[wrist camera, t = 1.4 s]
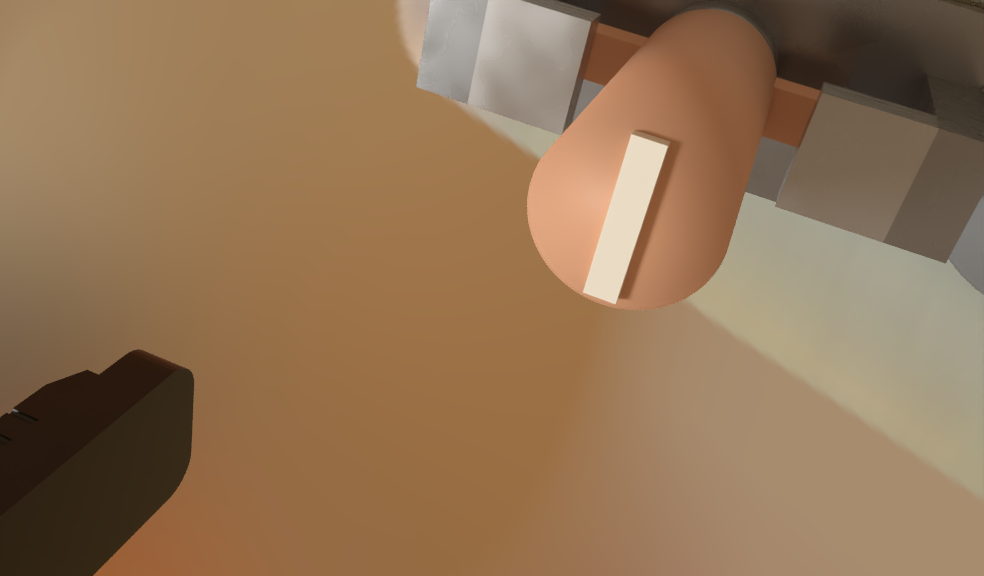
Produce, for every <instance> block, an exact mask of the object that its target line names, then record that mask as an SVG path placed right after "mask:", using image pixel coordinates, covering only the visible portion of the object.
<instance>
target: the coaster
mask: <svg viewBox="0 0 984 576" xmlns="http://www.w3.org/2000/svg"><path fill="white" fill-rule="evenodd" d="M982 92H984V88H983V89H982ZM949 260H950V261H951V263H952V264H953V265H954V267H955V268H956V269H957V270H958V272H959V273H960V274H961V275H962V276H963V277H964V278H965V279H966V280H967V281H968V282H969V283H970V284H971V285H972V286H973V287H974V288H975V289H977V290H978V291H980V292H981V293H982V294H984V194H983V196H982V197H981V199H980V201H979V203H978V205H977V207H976V208H975V210H974V212H973V214H972V216H971V218H970V219H969V221H968V223H967V225H966V227H965V229H964V230H963V232H962V234H961V236H960V238H959V240H958V242H957V243H956V245H955V247H954V249H953V251H952V253H951V254H950V256H949Z"/></svg>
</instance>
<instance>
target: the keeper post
mask: <svg viewBox="0 0 984 576" xmlns="http://www.w3.org/2000/svg"><path fill="white" fill-rule="evenodd" d="M699 9H713V10H721V11H725V12H729V13H731V14H734V15H737V16H738V17H740V18H742V19H744V20H746V21H747V22H748V23H750V24H751V25H752V26H753V27H755V28H756V29H757V30H758V31H759V32H760V34H761V35H762V36H763V37H764V39H765V40H766V42H767V44H768V45H769V47H770V49H771V52H772V54H773V57H774V61H775V65H776V74H777V77H778V78H781V79H784V80H787V81H791V82H794V83H797V84H800V85H804V86H807V87H810V88H814V89H817V90H820V92H819V95H818V97H817V100H816V102H815V104H814V107H813V109H812V112H811V114H810V117H809V119H808V121H807V124H806V126H805V129H804V131H803V134H802V136H801V138H800V141H799V143H798V146H797V147H794V146H791V145H788V144H785V143H782V142H779V141H775V140H772V139H769V138H766V137H763V136H762V137H761V140H760V144H759V147H758V150H757V153H756V157H755V160H754V163H753V167H752V170H751V173H750V177H749V180H748V183H747V186H746V190H745V192H748V193H751V194H754V195H757V196H760V197H763V198H766V199H769V200H772V201H775V202H776V206H775V207H778V208H781V209H784V210H787V211H790V212H793V213H796V214H799V215H802V216H805V217H808V218H811V219H814V220H817V221H820V222H823V223H826V224H829V225H832V226H835V227H838V228H841V229H844V230H847V231H850V232H853V233H856V234H859V235H862V236H865V237H868V238H871V239H874V240H877V241H880V242H883V243H886V244H889V245H892V246H895V247H898V248H901V249H904V250H907V251H910V252H913V253H916V254H919V255H922V256H925V257H928V258H931V259H934V260H937V261H940V262H943V263H946V262H947V260H948V258H949V256H950V254H951V253H952V251H953V249H954V247H955V245H956V243H957V242H958V240H959V238H960V236H961V234H962V232H963V230H964V229H965V227H966V225H967V223H968V221H969V219H970V218H971V216H972V214H973V212H974V210H975V208H976V207H977V205H978V203H979V201H980V199H981V197H982V196H983V194H984V92H982V89H983V88H984V9H983V8H980V7H976V6H973V5H969V4H966V3H962V2H958V1H955V0H431V2H430V8H429V14H428V20H427V26H426V32H425V37H424V43H423V49H422V55H421V61H420V67H419V73H418V79H417V85H416V87H418V88H421V89H424V90H427V91H430V92H433V93H436V94H439V95H442V96H445V97H448V98H451V99H454V100H457V101H460V102H463V103H466V104H469V105H472V106H475V107H478V108H481V109H484V110H487V111H490V112H493V113H496V114H499V115H502V116H505V117H508V118H511V119H514V120H517V121H520V122H523V123H526V124H529V125H532V126H535V127H538V128H541V129H544V130H547V131H550V132H553V133H556V134H559V135H562V134H563V133H564V132H565V130H566V129H567V128H568V127H569V126H570V125H571V124H572V123H573V122H574V120H575V119H576V118H577V117H578V116H579V115H580V114H581V113H582V112H583V110H584V109H585V108H586V107H587V106H588V105H589V104H590V103H591V102H592V100H593V99H594V98H595V97H596V96H597V95H598V94H599V93H600V91H601V90H602V89H603V88H604V87H605V86H603V85H600V84H597V83H594V82H591V81H588V80H584V76H585V72H586V69H587V65H588V61H589V57H590V54H591V50H592V46H593V43H594V39H595V35H596V31H597V28H598V24H599V23H601V24H604V25H608V26H611V27H614V28H618V29H621V30H624V31H627V32H631V33H634V34H637V35H640V36H644V37H647V38H649V37H650V36H651V35H652V34H653V33H654V32H655V30H656V29H657V28H659V27H660V26H661V25H662V24H663V23H665V22H666V21H668V20H670V19H671V18H673V17H675V16H677V15H679V14H682V13H685V12H688V11H693V10H699Z"/></svg>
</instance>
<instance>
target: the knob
mask: <svg viewBox="0 0 984 576" xmlns="http://www.w3.org/2000/svg"><path fill="white" fill-rule="evenodd" d="M584 80H588V81H591V82H594V83H597V84H600V85H603V86H605V87H604V88H603V89H602V90H601V91H600V93H599V94H598V95H597V96H596V97H595V98H594V99H593V100H592V102H591V103H590V104H589V105H588V106H587V107H586V108H585V109H584V110H583V112H582V113H581V114H580V115H579V116H578V117H577V118H576V119H575V120H574V122H573V123H572V124H571V125H570V126H569V127H568V128H567V129H566V130H565V132H564V133H563V134H562V135H561V136H560V137H559V138H558V139H557V140H556V142H555V143H554V144H553V145H552V146H551V147H550V148H549V149H548V150H547V152H546V153H545V154H544V156H543V157H542V159H541V160H540V162H539V163H538V166H537V167H536V169H535V172H534V174H533V177H532V180H531V183H530V187H529V192H528V201H527V202H528V203H527V212H528V221H529V226H530V230H531V234H532V237H533V240H534V242H535V245H536V246H537V249H538V251H539V253H540V255H541V256H542V258H543V259H544V261H545V262H546V264H547V265H548V267H549V268H550V269H551V270H552V271H553V272H554V274H555V275H556V276H557V277H558V278H559V279H560V280H562V281H563V282H564V283H565V284H566V285H567V286H569V287H570V288H572V289H573V290H574V291H576V292H577V293H579V294H581V295H583V296H584V297H586V298H588V299H590V300H593V301H595V302H597V303H600V304H603V305H607V306H610V307H614V308H619V309H627V310H649V309H655V308H661V307H664V306H667V305H671V304H674V303H676V302H679V301H681V300H683V299H685V298H687V297H688V296H690V295H692V294H693V293H695V292H696V291H697V290H699V289H700V288H701V287H702V286H704V285H705V284H706V283H707V282H708V281H709V279H710V278H711V277H712V276H713V275H714V274H715V272H716V271H717V269H718V268H719V266H720V265H721V263H722V261H723V259H724V257H725V255H726V252H727V249H728V246H729V243H730V239H731V236H732V233H733V229H734V226H735V223H736V220H737V216H738V213H739V210H740V206H741V203H742V200H743V196H744V193H745V190H746V186H747V183H748V180H749V177H750V173H751V170H752V167H753V163H754V160H755V157H756V153H757V150H758V147H759V144H760V140H761V137H762V136H763V137H766V138H769V139H772V140H775V141H779V142H782V143H785V144H788V145H791V146H794V147H797V146H798V143H799V141H800V138H801V136H802V134H803V131H804V129H805V126H806V124H807V121H808V119H809V117H810V114H811V112H812V109H813V107H814V104H815V102H816V100H817V97H818V95H819V92H820V90H817V89H814V88H810V87H807V86H804V85H800V84H797V83H794V82H791V81H787V80H784V79H781V78H778V77H777V74H776V65H775V61H774V57H773V54H772V52H771V49H770V47H769V45H768V44H767V42H766V40H765V39H764V37H763V36H762V35H761V34H760V32H759V31H758V30H757V29H756V28H755V27H753V26H752V25H751V24H750V23H748V22H747V21H746V20H744V19H742V18H740V17H738V16H737V15H734V14H731V13H729V12H725V11H721V10H713V9H699V10H693V11H688V12H685V13H682V14H679V15H677V16H675V17H673V18H671V19H670V20H668V21H666V22H665V23H663V24H662V25H661V26H660V27H659V28H657V29H656V30H655V32H654V33H653V34H652V35H651V36H650V37H649V38H647V37H644V36H640V35H637V34H634V33H631V32H627V31H624V30H621V29H618V28H614V27H611V26H608V25H604V24H601V23H599V24H598V28H597V31H596V35H595V39H594V43H593V46H592V50H591V54H590V57H589V61H588V65H587V69H586V72H585V76H584Z"/></svg>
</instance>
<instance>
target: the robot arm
mask: <svg viewBox="0 0 984 576" xmlns="http://www.w3.org/2000/svg"><path fill="white" fill-rule="evenodd" d="M193 395H194V378H193V374H192V372H191V371H190V370H188V369H186V368H184V367H182V366H179V365H177V364H174V363H172V362H169V361H167V360H165V359H162V358H160V357H158V356H155V355H153V354H150V353H148V352H145V351H143V350H134V351H132V352H129V353H128V354H126V355H125V356H124V357H122V358H121V359H119V360H118V361H117V362H115V363H114V364H113V365H111V366H110V367H109V368H107V369H106V370H105V371H103V372H102V373H101V374H99V375H98V374H96V373H93V372H91V371H89V370H86V371H83V372H80V373H77V374H74V375H72V376H69V377H66V378H64V379H61V380H58V381H55V382H52V383H50V384H47V385H45V386H43V387H42V388H41V389H39V390H38V391H36V392H35V393H34V394H32V395H31V396H29V397H28V398H27V399H25V400H24V401H22V402H21V403H20V404H18V405H17V406H15V407H14V408H13V411H12V412H11V413H10V414H8V413H6V414H4V415H3V416H1V417H0V576H93V575H94V574H95V573H96V572H97V571H98V570H99V569H100V568H101V567H102V566H103V565H104V564H105V563H106V562H107V561H108V560H109V559H110V558H111V557H112V556H113V555H114V554H115V553H116V552H117V551H118V550H119V549H120V548H121V547H122V546H123V545H124V544H125V543H126V542H127V541H128V539H130V537H131V536H132V535H134V533H135V532H136V531H137V530H138V529H139V528H140V527H141V526H142V525H143V524H144V523H145V522H146V521H147V520H148V519H149V518H150V517H151V516H152V515H153V514H154V513H155V512H156V511H157V510H158V509H159V508H160V507H161V506H162V505H163V504H164V503H165V502H166V501H167V500H168V499H169V498H170V497H171V496H172V495H173V493H174V492H175V491H176V489H177V487H178V486H179V485H180V483H181V481H182V479H183V477H184V475H185V473H186V470H187V468H188V465H189V462H190V456H191V442H192V419H193Z"/></svg>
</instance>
